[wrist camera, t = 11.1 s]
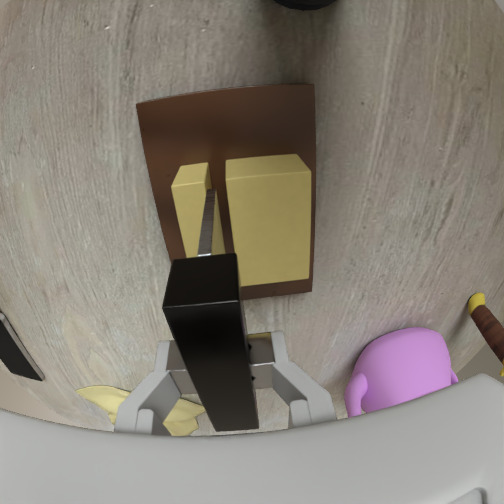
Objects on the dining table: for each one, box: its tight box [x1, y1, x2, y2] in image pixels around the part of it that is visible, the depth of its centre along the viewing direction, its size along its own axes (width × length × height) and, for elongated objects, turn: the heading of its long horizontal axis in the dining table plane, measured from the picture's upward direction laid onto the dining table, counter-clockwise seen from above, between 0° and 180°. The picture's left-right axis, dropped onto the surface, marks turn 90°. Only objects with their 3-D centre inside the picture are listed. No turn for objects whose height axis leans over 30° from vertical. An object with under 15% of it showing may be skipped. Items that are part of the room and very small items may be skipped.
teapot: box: [344, 327, 458, 418], centre depth 32 cm, size 20×13×12 cm, turn 88°
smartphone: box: [0, 313, 44, 381], centre depth 32 cm, size 8×1×15 cm
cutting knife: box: [162, 189, 259, 432], centre depth 14 cm, size 9×2×8 cm, turn 4°
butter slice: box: [171, 162, 212, 258], centre depth 21 cm, size 8×2×4 cm, turn 5°
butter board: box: [136, 83, 316, 300], centre depth 23 cm, size 18×12×2 cm, turn 5°
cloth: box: [75, 386, 206, 436], centre depth 39 cm, size 22×19×6 cm
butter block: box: [225, 154, 311, 286], centre depth 21 cm, size 8×5×4 cm, turn 4°
